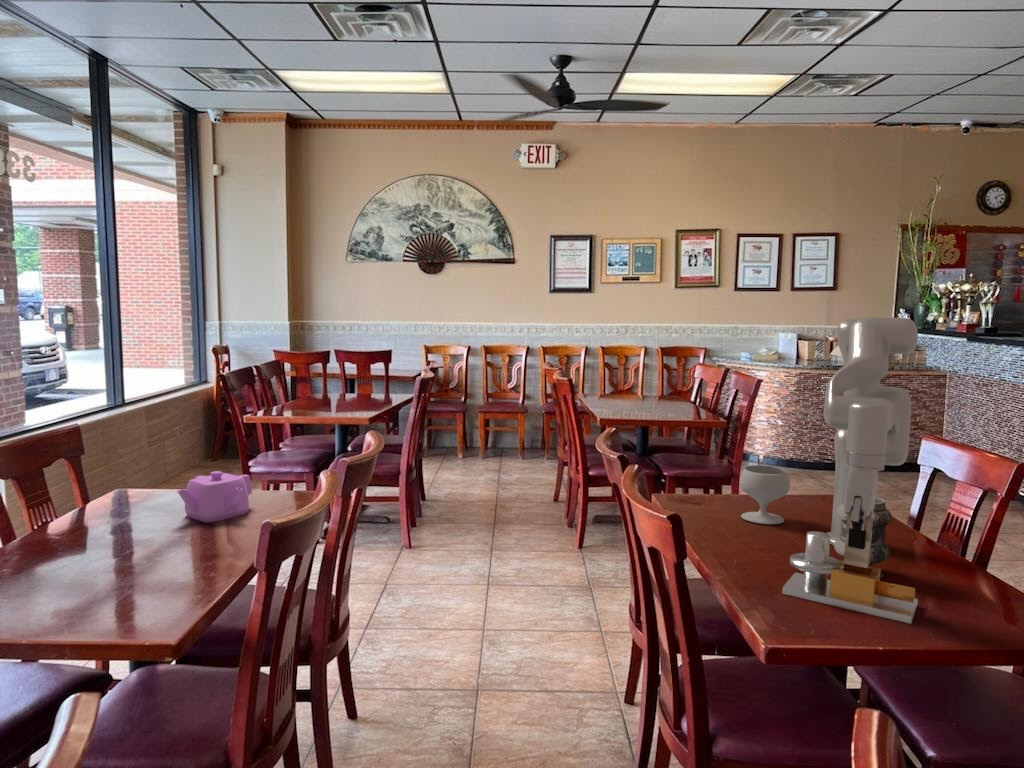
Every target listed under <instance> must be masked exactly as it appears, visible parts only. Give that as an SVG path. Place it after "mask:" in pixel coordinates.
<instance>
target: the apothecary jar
mask: <svg viewBox="0 0 1024 768" xmlns="http://www.w3.org/2000/svg"><path fill="white" fill-rule="evenodd" d="M843 508H844V503H843V504H841V505H840V506H839V507H838V509H837V514H838V516H839V518H840V519H842V526H841V535H840V538H838V539H837V540H836V541H835V543H834V545H833V548H834V550H835V552H836V553H837V554H838V555H839V556H840V557H842V558H843V559H844V552H845V538H846V524H847V514H845V513H844V512H843ZM892 521H893V515H892V513H891V512H890V511H889V510H888V509H887V506H886V501H885V499H884V498H881V497H878V496H876V500H875V506H874V512H873V525H872V538H871V551H870V564H869V565H868V566H871V567H875V565H874V564H879V563H882V562H885V561H886V560H888V559H889V557H890V554H891V550H890V548H889V546H888V544H886V540H885V539H886V526H888V525H889V524H890V523H891V522H892ZM883 576H884V572H883V571H882V570H881V571H880V579H881V578H883Z"/></svg>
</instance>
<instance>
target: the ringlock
mask: <svg viewBox="0 0 1024 768" xmlns="http://www.w3.org/2000/svg"><path fill="white" fill-rule="evenodd" d="M826 533H827V532H823V531H816V530H815V531H807V532H806V538H805V539H806V540H805V541H806V542H805V552H797V553H794V554H791V555H790V557H789V564H790V565H791V566H792V567H793V568H795V569H797V570H800V571H802V572H803V573H799V572H794V573H793V575H791V576H790V578H789V579H788V580H787V582H785V584H784V585H783V586H782V592H781V594H783V595H786V596H789V597H790V596H791V597H794V598H800V599H803V600H807V601H812V602H815V603H820V604H826V605H829V606H834V607H837V608H841V609H846V610H851V611H854V612H859V613H863V614H867V615H871V616H874V617H875V616H876V617H880V618H883V619H889V620H893V621H898V622H902V623H906V624H909V625H910V624H912V622H913V619H914V616H915V613H916V610H917V607H918V598H915V596H916V588H915V587H911V586H906V585H902V584H897V583H891V582H887V581H882V580H881V578H880V571H882V570H881V568H880V567H876V566H874V567H871V566H868V567H867V568H864V567H859V566H854V565H849V564H844V560H840V559H837V558H835V557H834V556H833V557H832V556H830V549H831V544H830V535H829V534H826ZM828 576H830V579H828V578H829V577H828Z"/></svg>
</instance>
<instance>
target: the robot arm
mask: <svg viewBox="0 0 1024 768" xmlns="http://www.w3.org/2000/svg"><path fill="white" fill-rule="evenodd" d="M918 334H919V332H918V328H917V325H916V322H915V321H914V320H913V319H910V318H906V317H904V318H903V317H880V316H879V317H876V316H875V317H874V316H870V317H862V318H852V319H845V320H843V321H841V322H840V323H838V325H837V329H836V338H837V339H836V340H837V345H838V348H839V351H840V354H841V356H842V359H843V362H844V366H842V367H841V368H840V369H838V370H837V371H836V372H835V373H834V374H833V375H832V376H831V378H830V379H829V381H828V383H827V385H826V389H825V393H824V394H825V395H824V406H823V418H824V422H825V424H826V425H827V426H828V427H830V428H831V429H835V430H836V432H835V435H834V440H833V444H834V445H833V446H834V456H835V458H834V459H835V468H834V469H835V472H834V473H835V474H834V487H833V488H834V491H833V503H832V514H831V515H832V517H831V527H830V528H831V529H830V530H831V531H828V532H825V533H826V534H829V535H830V545H832V546H834V543H835V541H836V540H837V539H838V538H840V535H841V526H842V519H840V518H839V516H838V514H837V509H838V507H839V506H840V505H841V504H843V503H844V508H843V512H844V513H845V514H847V513H849V512H850V511H851V508H852V511H851V521H850V528H849V539H848V546H849V547H853V548H858V549H864V548H865V541H866V530H865V523H866V517H867V516H869V515H870V512H871V511H872V510H873V509H874V506H875V500H876V497H877V488H878V479H879V478H878V477H879V476H878V475H879V472H881V471H884V470H885V466H894V467H895V466H901V465H903V464H904V463H906V461H907V459H908V455H909V448H910V446H909V445H910V435H911V434H910V431H911V418H912V400H911V395H910V393H909V391H908V390H906V389H905V388H902V387H898V386H885V385H881V380H882V379H883V378H884V377H885V376H887V374H888V371H889V368H890V366H889V354H896V355H911V354H912V353H914V351H915V350H916V348H917V345H918V342H919V341H918V340H919V335H918ZM842 393H843V395H841V394H842ZM863 511H864V512H863ZM860 512H861V513H864V514H863V515H860ZM860 518H862V520H860Z"/></svg>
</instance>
